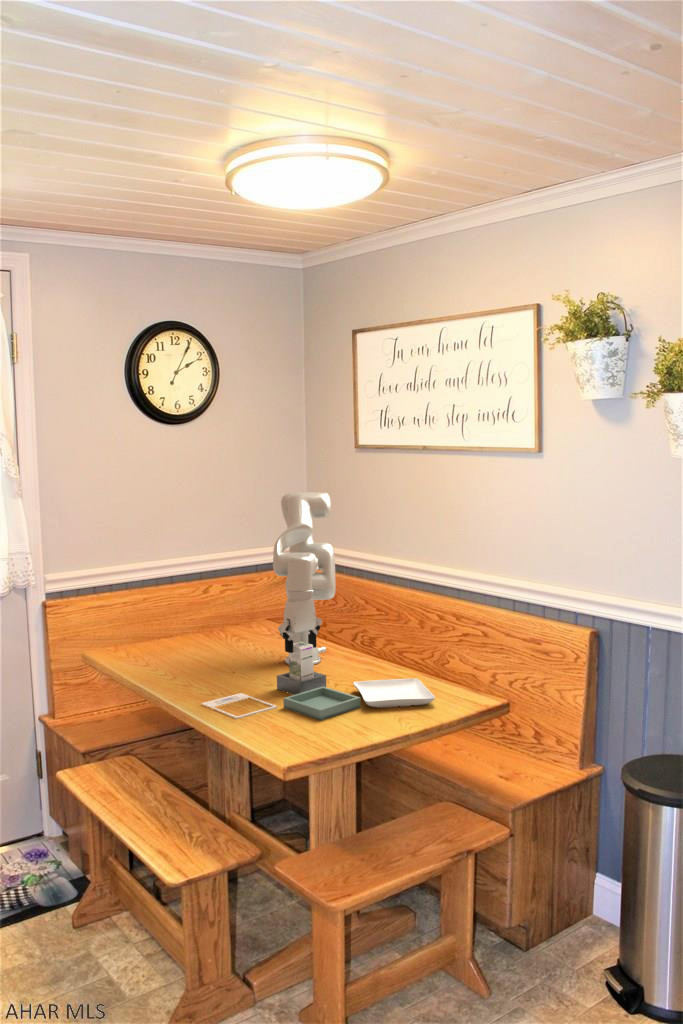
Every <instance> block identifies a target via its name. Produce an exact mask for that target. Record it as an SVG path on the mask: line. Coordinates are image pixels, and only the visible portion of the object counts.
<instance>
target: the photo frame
mask: <svg viewBox="0 0 683 1024" xmlns="http://www.w3.org/2000/svg"><path fill="white" fill-rule="evenodd" d="M247 698H252V699H254V700H253V701H255V700H257V701H259V702H258V703H260V702H262V703H261V704H263V703H264V704H263V705H265V704H267V705H266V706H268V705H269V707H266V708H262V709H259V710H256V711H255V710H254V711H251V712H248V713H245V714H240V715H238V716H237V715H235V714H232V713H230V712H227V711H224V710H222V709H220V708H218V707H217V708H215V707H216V706H221V705H224V704H228V703H232V702H236V701H239V702H241V701H240V700H243V701H245V700H244V699H247ZM252 699H251V700H252ZM247 700H248V699H247ZM257 701H256V702H257ZM236 703H237V702H236ZM201 704H202V705H201ZM232 704H233V703H232ZM200 705H201V706H203V705H205V706H208V707H210V708H213V709H215V710H217V711H220V712H222V713H224V714H223V715H225V714H227V715H229V716H228V717H230V716H231V717H230V718H232V717H233V718H232V719H234V718H235V719H234V720H239V719H238V718H240V719H243V718H246V717H245V716H247V717H250V716H253V714H254V715H257V714H260V713H259V712H261V713H263V711H264V712H268V711H271V710H275V709H277V708H278V706H277V705H274V704H273V703H270V702H266V701H264V700H261V699H259V698H255V697H254V696H250V695H248V694H246V693H243V692H240V693H236V694H233V695H228V696H227V695H226V696H223V697H220V698H216V699H212V700H208V701H204V702H201V703H200ZM228 705H229V704H228ZM205 706H204V707H205ZM208 707H207V708H208ZM221 707H222V706H221ZM210 708H209V709H210ZM270 709H271V710H270ZM215 710H214V711H215ZM267 710H268V711H267ZM217 711H216V712H217ZM220 712H219V713H220ZM222 713H221V714H222ZM256 713H257V714H256ZM227 715H226V716H227ZM249 715H250V716H249ZM242 717H243V718H242Z"/></svg>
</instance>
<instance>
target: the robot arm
mask: <svg viewBox="0 0 683 1024" xmlns="http://www.w3.org/2000/svg"><path fill="white" fill-rule="evenodd" d="M280 503H281V504H280V506H281V511H282V515H283V518H284V521H285V523H286V526H287V527H286V528H287V529H285V530H284V531H283V532H282V533H281V534H280V535H279V537H278V538H277V539H276V541H275V543H274V546H273V553H272V554H273V558H272V568H273V571H274V574H275V575H276V576H278V577H287V578H285V579H286V580H285V586H284V587H285V592H286V597H287V598H286V599H287V600H286V601H285V604H284V605H285V606H284V612H283V622H282V623H281V624H279V626H278V627H277V629H278V632H279V634H280V636H281V637H282V639H283V640H284V651H285V652H286V653H288V654H289V653H293V643H297V642H303V643H308V644H312V645H313V666H314V665H316V664H319V663H320V662H321V660H322V659H321V658H322V657H320V656H319V655H320V654H322V653H325V652H327V649H326V647H325V646H321V647H318V646H317V635H318V634H319V631H320V629H321V626H322V623H323V620H322V618H319V616H317V614H316V606H315V601H316V600H317V601H318V600H319V601H320V600H321V601H323V600H324V601H325V600H331V599H333V598H334V597H335V595H336V588H337V587H336V583H337V582H336V561H335V560H336V559H335V558H336V557H335V551H334V547H333V545H331V544H330V543H329V542H315V541H314V522H313V521H314V519H327V518H329V516H330V515H331V512H332V503H331V497H330V494H329V493H327V492H325V491H323V492H322V491H321V492H317V491H316V492H314V491H313V492H312V491H310V492H307V491H303V492H301V491H299V492H290V493H286V494H284V495H283V496H282V497H281V500H280ZM288 548H289V549H288ZM287 549H288V552H284V551H285V550H287ZM317 570H320V571H321V572H317ZM284 663H285V664H287V665H289V655H288V656H286V657H285V658H284Z"/></svg>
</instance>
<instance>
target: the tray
mask: <svg viewBox="0 0 683 1024" xmlns="http://www.w3.org/2000/svg"><path fill="white" fill-rule="evenodd" d="M361 703H362V701H361V696H356V695H353V694H350V693H346V692H343V691H340V690H336V689H334V688H330V687H327V686H326V687H320V688H316V689H313V690H309V691H306V692H303V693H299V694H296V695H293V694H291V695H290V696H286V697H283V709H285V710H287V711H291V712H293V713H297V714H300V715H302V716H306V717H309V718H312V719H315V720H317V721H320V722H321V721H325V720H326V719H330V718H334V717H336V716H340V715H342V714H345V713H349V712H351V711H354V710H357V709H360V708H361V707H362V706H361Z"/></svg>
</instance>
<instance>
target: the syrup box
mask: <svg viewBox="0 0 683 1024" xmlns="http://www.w3.org/2000/svg"><path fill="white" fill-rule="evenodd" d="M288 656H289V664H288V672H289V678H291V679H295V680H298V681H303V680H306V679H310V678H313V677H314V675H313V672H314V665H313V645H312V644H308V643H303V642H297V643H293V653H289V652H288Z"/></svg>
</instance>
